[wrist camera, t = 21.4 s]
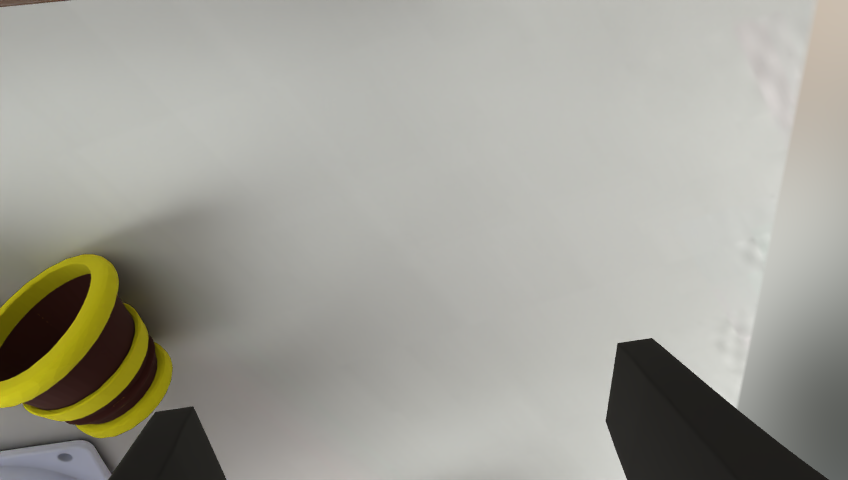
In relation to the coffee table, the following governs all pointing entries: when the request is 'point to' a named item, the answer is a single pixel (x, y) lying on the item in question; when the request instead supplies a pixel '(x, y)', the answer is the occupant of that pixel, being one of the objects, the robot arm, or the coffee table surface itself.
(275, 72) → the coffee table surface
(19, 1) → the rack
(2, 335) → the opera glasses
